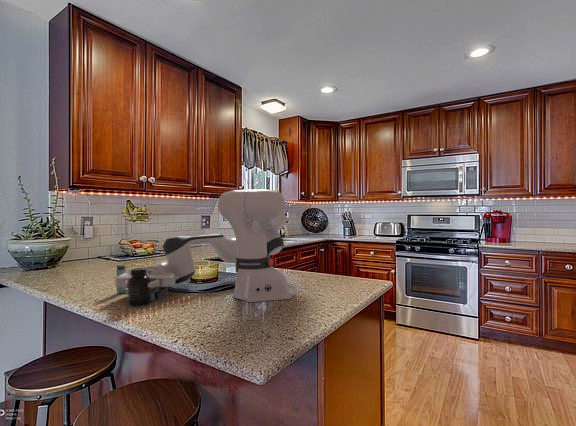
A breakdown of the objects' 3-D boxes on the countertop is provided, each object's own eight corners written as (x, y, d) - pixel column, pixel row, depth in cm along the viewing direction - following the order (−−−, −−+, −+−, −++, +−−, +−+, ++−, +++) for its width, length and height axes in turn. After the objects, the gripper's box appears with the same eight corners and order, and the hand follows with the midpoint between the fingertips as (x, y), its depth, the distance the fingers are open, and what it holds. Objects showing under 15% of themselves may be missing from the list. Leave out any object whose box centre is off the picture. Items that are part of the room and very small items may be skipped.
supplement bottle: (154, 302, 112) (153, 268, 111) (136, 308, 106) (135, 271, 106) (142, 299, 115) (141, 266, 115) (124, 304, 110) (123, 269, 109)
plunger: (166, 290, 127) (165, 264, 127) (153, 299, 114) (152, 271, 114) (119, 291, 126) (119, 265, 126) (102, 300, 114) (101, 272, 113)
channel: (168, 292, 124) (168, 287, 124) (160, 298, 116) (160, 293, 116) (140, 293, 124) (140, 288, 124) (131, 299, 116) (131, 293, 116)
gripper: (180, 284, 124) (168, 294, 110) (126, 285, 123) (107, 295, 109) (180, 268, 123) (168, 275, 110) (126, 269, 123) (107, 277, 109)
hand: (137, 285), depth 109 cm, fingers closed on supplement bottle, 7 cm apart
